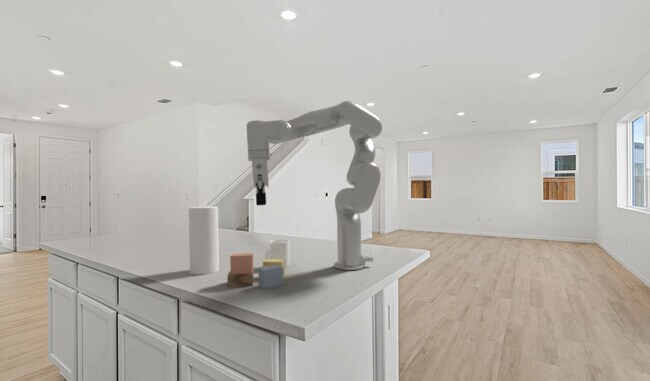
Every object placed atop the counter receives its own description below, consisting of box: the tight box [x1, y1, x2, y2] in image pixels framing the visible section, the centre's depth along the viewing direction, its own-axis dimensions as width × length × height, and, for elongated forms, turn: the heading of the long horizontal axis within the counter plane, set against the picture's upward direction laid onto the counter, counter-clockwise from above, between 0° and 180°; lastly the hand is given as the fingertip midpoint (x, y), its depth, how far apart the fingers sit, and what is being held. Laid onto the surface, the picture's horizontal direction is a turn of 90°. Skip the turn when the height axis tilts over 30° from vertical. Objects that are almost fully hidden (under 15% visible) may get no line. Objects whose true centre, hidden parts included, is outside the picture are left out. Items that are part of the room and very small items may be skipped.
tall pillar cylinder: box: [188, 205, 220, 275], centre depth 127 cm, size 11×11×25 cm
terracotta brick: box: [229, 252, 255, 274], centre depth 110 cm, size 7×4×6 cm, turn 96°
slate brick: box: [258, 265, 284, 290], centre depth 108 cm, size 7×4×6 cm, turn 124°
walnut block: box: [226, 270, 254, 288], centre depth 110 cm, size 8×6×4 cm
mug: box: [264, 239, 291, 269], centre depth 132 cm, size 12×8×10 cm
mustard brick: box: [262, 258, 286, 278], centre depth 118 cm, size 7×4×6 cm, turn 79°
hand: (261, 204), depth 116 cm, fingers open, 9 cm apart
